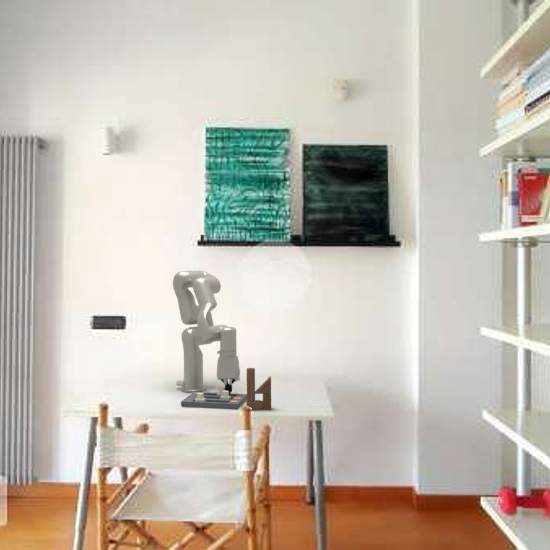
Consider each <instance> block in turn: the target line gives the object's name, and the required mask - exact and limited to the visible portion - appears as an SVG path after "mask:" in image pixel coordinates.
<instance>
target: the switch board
mask: <svg viewBox="0 0 550 550" xmlns="http://www.w3.org/2000/svg"><path fill="white" fill-rule="evenodd" d="M198 393H204V398H206V402H196V401H195V399H196V398H197V394H198ZM217 393H218V392H207V391H206V392H204V391H201V392H191V394H189V395H188V396H186V397H185V398H184V399H182V400H181V401H180V407H181V406H182V407H181V408H195V409H196V408H201V409H219V410H220V409H221V410H223V409H224V410H239V408H241V407H242V406H243V405H244V404H245V402H246V401H247V393H230V394H229V396H231V399H220V397H221V396H217Z"/></svg>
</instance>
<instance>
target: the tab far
mask: <svg viewBox="0 0 550 550" xmlns="http://www.w3.org/2000/svg"><path fill="white" fill-rule="evenodd" d="M224 390H225V386H222V387H219V388H218V392H216V393H217V396H222V391H224Z"/></svg>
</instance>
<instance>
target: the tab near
mask: <svg viewBox="0 0 550 550" xmlns="http://www.w3.org/2000/svg"><path fill="white" fill-rule="evenodd" d="M195 401H196V402H206V398H204V393H198V394H197V398H196V399H195Z"/></svg>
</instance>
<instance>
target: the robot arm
mask: <svg viewBox="0 0 550 550" xmlns="http://www.w3.org/2000/svg"><path fill="white" fill-rule="evenodd" d="M172 287H173V288H172V289H173V291H174V293H175V297H176V299H177V304H178V308H179V314H180V319H181V322H182V324H184V325H186V326H190V327H187V328H184V330H183V331H182V332H181V342H182V347H183V348H182V349H183V380H182V381H181V380H176V382H175V383H176V386H181V387H180V391H181V392H184V393H193V392H204V391H206V390H207V386H206V385H204V359H203V358H204V356H203V355H204V354H203V351H202V350H201V348H200V346H204V345H205V346H206V345H210V344H212V343H214V342H215V343H216V342H219V347H220V348H219V350H217V351H216V354H217V355H219V356H218V358H217V366H216V377H217V378H216V380H217V381H221V382H222V383H223V385H224V387H225V391H229V394H230V393H231V392H233V384H234V383H235V382H240V379H241V378H240V373H241V372H240V371H241V370H240V362H239V356H238V355H237V329H236V327H234V326H228V325H225V324H217V325H214V320H213V316H212V315H213V314H212V311H214V309H216V308H217V306H218V302H217V300H216V297H215V295H216V294H218V293H220V291H221V287H222V286H221V282H220V279H218V277H216V275H213V274H211V273H209V272H207V271H205V270H183V271H182V270H181V271H178V272H176V274H175V275H174V276H173V279H172ZM189 288H192V289H193V292H192V291H191V290H190V289H189ZM193 293H194V294H193ZM214 294H215V295H214ZM196 301H197V304H198V305H197V304H196ZM191 325H192V326H191ZM193 325H197V326H193ZM231 394H232V393H231Z"/></svg>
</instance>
